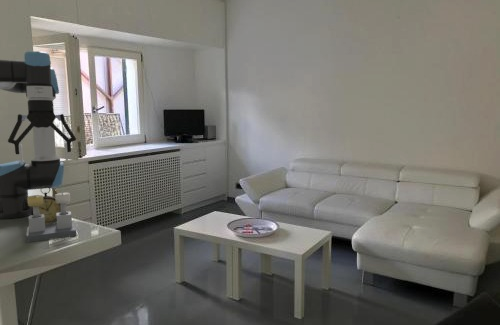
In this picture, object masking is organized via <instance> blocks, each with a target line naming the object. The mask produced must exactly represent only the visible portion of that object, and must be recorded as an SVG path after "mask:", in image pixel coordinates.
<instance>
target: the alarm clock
mask: <svg viewBox="0 0 500 325" xmlns="http://www.w3.org/2000/svg"><path fill="white" fill-rule="evenodd" d="M43 187H45V186H43ZM43 187H42V188H43ZM46 187H48V186H46ZM42 188H41V189H40V192H41V194H43V195H42V196H43V205H40V206H39V213H40V215H42V214H44V217H45V224H51V223H57V218H56V213H60V212H61V209H60V204H58V203H56V202H55V196H53V195H47V194H49V193H50V192H51V188H49V187H48V188H47V189H48V192H45V191H44V192H43V191H42V190H43V189H42ZM31 213H32V214H31V216H33V206H32V209H31Z"/></svg>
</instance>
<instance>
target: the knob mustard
mask: <svg viewBox="0 0 500 325" xmlns="http://www.w3.org/2000/svg"><path fill="white" fill-rule="evenodd" d="M43 196H44V195H41V194H36V195H28V197H27V200H28V206H33V216H34V218H38V217H40V213H39V206H40V205H43Z"/></svg>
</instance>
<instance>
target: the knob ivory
mask: <svg viewBox="0 0 500 325" xmlns="http://www.w3.org/2000/svg"><path fill="white" fill-rule="evenodd" d="M54 197H55V202H56V203H58V204H60V209H61V215H65V214H67V212H68V210H67V204H68V203H70V202H71V193H70V192H59V193H56V194H54Z"/></svg>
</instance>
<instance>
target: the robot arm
mask: <svg viewBox="0 0 500 325" xmlns="http://www.w3.org/2000/svg"><path fill="white" fill-rule="evenodd" d="M50 56H51V55H50V54H49V53H48V52H46V51H39V50H29V51H25V52H24V57H23V58H24V59H23V60H12V59H11V60H10V59H0V90H1V91H2V90H3V91H5V92H10V93H14V94H16V93H17V94H25V97H26V99H27V110H28V112H27V113H28V114H21V113H20V114H19V113H18V114H17V118H16V119H17V120H16V123H15V125H14V126H13V129H12V131H11V133H10V136H9V138H8V139H7V142H8V143H9V144H13V145H14V152H15V155H18V156H19V160H14V161H10V162H5V163H0V219H1V220H6V219H17V218H23V217H29V216H31V215H32V213H31V209H32V206H28V200H27V197H29V190H31V191H32V190H44V189H49V188H50V189H53V188H55V189H56V188H60V187H61V186H62V185H63V180H64V170H65V169H64V166H65V164H64V162H63V161H61V158H60V156H58V155H57V149H56V138H55V137H56V135H55V132H56V134H58V135H59V136H60V137H61V138H62V139H63V140H64V141H65V142H64V156H65V163H69V156H68V155H69V154H68V153H71V151H72V145H71V144H72V142H75V141H76V140H77V138H76V135H74V133H73V131H72V130H71V128H70V126H69V125H68V123H67V121H66V118H65V115H64V114H63V113H60V114H55V110H54V109H55V108H54V100H55V99H56V98H57V95H58V94H59V93H60V90H59V84H58V83H59V82H58V79H57V74H56V70H55V69H54V68H53V67H51V66H52V65H51V64H52V62H51V57H50ZM26 119H27V120H28V121H29V122H30V124H28V126H27V127H26V128H25V130H23V132H22V133H21V134H20V135H19V137H17V138H16V135H17V134H18V131H19V129H20V127H21V126H22V124H23V122H25V120H26ZM55 119H57V120H58V121H59V122H61V124H62V125H63V127H64V128H65V130H66V131H67V133H68V135H69V137H68V136H67V135H66V134H65V133H64V132H63V131H62V130H60V128H59V127H58V126H57V125H56V124H55V122H54V121H55ZM30 131H32V138H33V139H32V141H33V151H34V152H33V153H34V154H33V155H34V156H33V157H32V158H31V159H30V163H27V162H26V161H25V160H24V152H23V144H22V143H21V142H22V141H23V140H24V138H25V137H26V136H27V135H28V134H29V133H30ZM15 138H16V139H15ZM20 143H21V144H20ZM43 186H45V187H43ZM46 186H48V187H49V188H48V187H46ZM42 187H43V188H42ZM41 188H42V189H41Z"/></svg>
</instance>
